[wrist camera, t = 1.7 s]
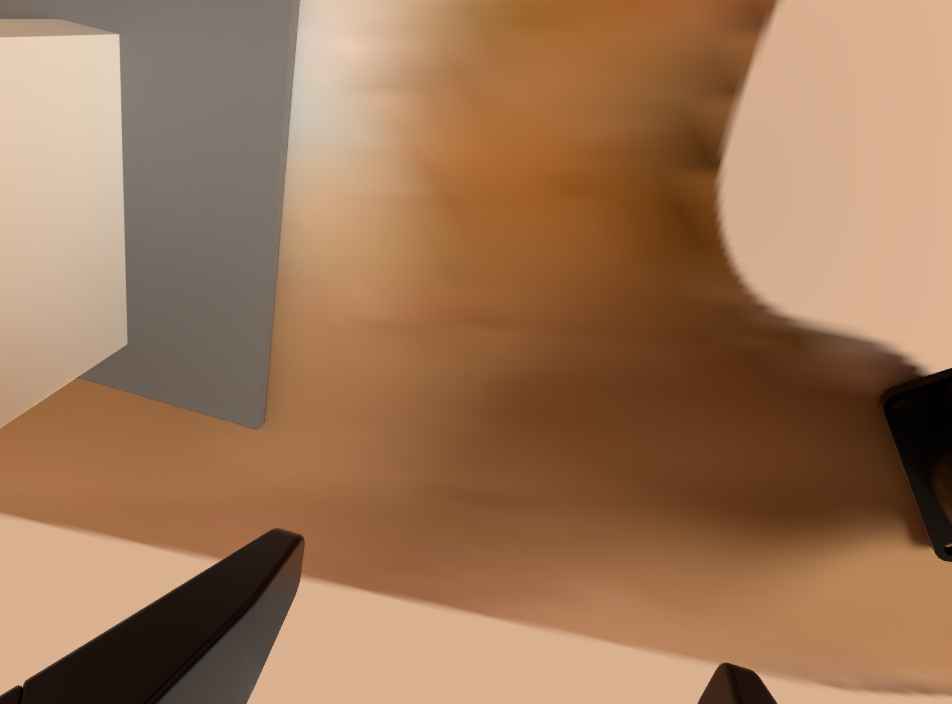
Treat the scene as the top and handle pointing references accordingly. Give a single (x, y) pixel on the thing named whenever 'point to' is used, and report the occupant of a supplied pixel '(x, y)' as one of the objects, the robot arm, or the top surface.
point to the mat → (197, 192)
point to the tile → (58, 207)
